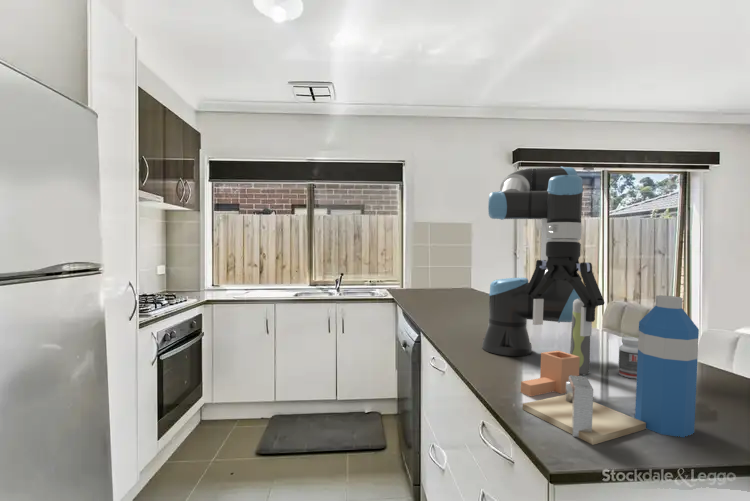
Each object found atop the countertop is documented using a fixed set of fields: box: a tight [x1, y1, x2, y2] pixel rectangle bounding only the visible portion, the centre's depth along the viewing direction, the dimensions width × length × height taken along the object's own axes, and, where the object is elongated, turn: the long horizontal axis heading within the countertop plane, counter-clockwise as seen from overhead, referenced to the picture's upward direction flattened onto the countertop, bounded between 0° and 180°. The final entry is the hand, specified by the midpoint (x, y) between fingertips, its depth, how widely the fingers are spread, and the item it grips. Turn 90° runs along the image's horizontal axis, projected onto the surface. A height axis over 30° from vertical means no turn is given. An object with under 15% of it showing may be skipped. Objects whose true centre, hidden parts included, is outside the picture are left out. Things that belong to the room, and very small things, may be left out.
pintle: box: [565, 376, 573, 403], centre depth 87 cm, size 2×2×5 cm
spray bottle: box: [569, 299, 591, 376], centre depth 110 cm, size 5×5×20 cm
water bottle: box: [634, 294, 700, 438], centre depth 78 cm, size 9×9×25 cm
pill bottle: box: [617, 336, 638, 380], centre depth 108 cm, size 6×6×10 cm
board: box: [522, 394, 647, 446], centre depth 81 cm, size 16×15×1 cm
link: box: [520, 350, 580, 397], centre depth 96 cm, size 14×6×8 cm, turn 116°
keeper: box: [570, 375, 594, 438], centre depth 76 cm, size 7×3×9 cm, turn 161°
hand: (560, 329), depth 97 cm, fingers open, 13 cm apart
